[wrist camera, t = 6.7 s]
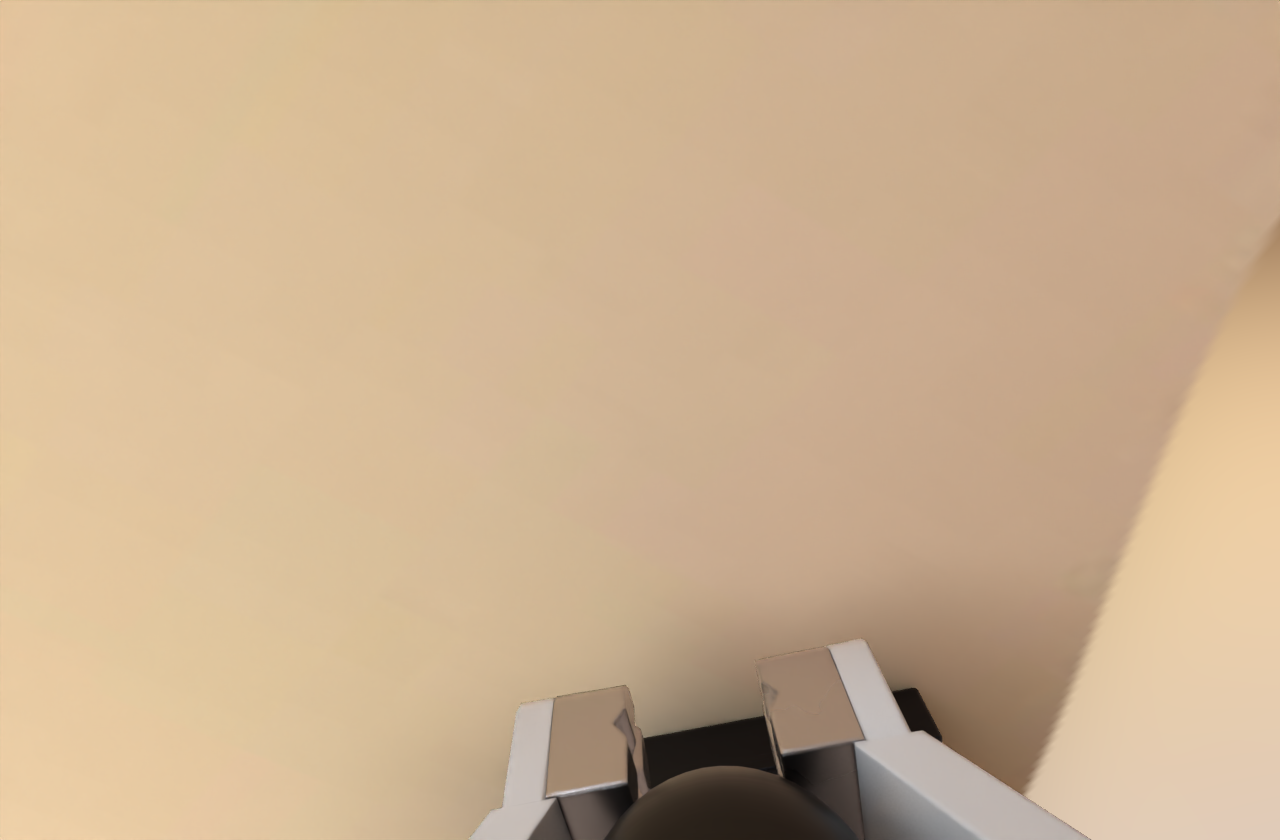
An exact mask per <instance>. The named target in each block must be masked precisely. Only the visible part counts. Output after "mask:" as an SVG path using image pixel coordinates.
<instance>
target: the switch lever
mask: <svg viewBox="0 0 1280 840" xmlns="http://www.w3.org/2000/svg"><path fill="white" fill-rule="evenodd" d="M604 840H859V838H858V837H857V836H856V835H855V833H854V832H853V831H852V829H851V828H850V827H849V826H848V825H847V824H846V823H845V822H844V821H843V820H842V819H841V818H840V817H839V815H838V814H837V813H836V812H835V811H833V810H832V809H831V808H830V807H829V806H828V805H826V804H825V803H824V802H823V801H821V800H820V799H819V798H818V797H816V796H815V795H814V794H813V793H811V792H809V791H808V790H806V789H804V788H803V787H801V786H799V785H798V784H796V783H794V782H792V781H790V780H787V779H785V778H783V777H781V776H778V775H775V774H772V773H768V772H765V771H762V770H758V769H754V768H747V767H741V766H714V767H706V768H700V769H696V770H692V771H689V772H685V773H683V774H680V775H678V776H675V777H673V778H670V779H668V780H666V781H665V782H663V783H661V784H659V785H658V786H656V787H654V788H652V789H651V790H649V791H648V792H647V793H645V794H644V795H643V796H642V797H640V798H639V799H638V800H636V801H635V802H634V803H633V804H632V805H631V806H630V807H629V808H628V809H627V810H626V811H625V812H624V813H623V814H622V816H621V817H620V818H619V820H618V821H617V822H616V824H615V825H614V826H613V828H612V829H611V830H610V832H609V833H608V834H607V836H606V837H605V839H604Z"/></svg>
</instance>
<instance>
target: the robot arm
mask: <svg viewBox="0 0 1280 840" xmlns="http://www.w3.org/2000/svg"><path fill="white" fill-rule="evenodd" d="M755 666H756V672H757V678H758V683H759V687H760V691H761V695H762V699H763V703H764V705H763V711H764V715H765V720H766V725H767V730H768V735H769V740H770V745H771V749H772V753H773V757H774V762H775V766H776V770H777V774H778V776H781V777H783V778H785V779H787V780H790V781H792V782H794V783H796V784H798V785H799V786H801V787H803V788H804V789H806V790H808V791H809V792H811V793H813V794H814V795H815V796H816V797H818V798H819V799H820V800H821V801H823V802H824V803H825V804H826V805H828V806H829V807H830V808H831V809H832V810H833V811H835V812H836V813H837V814H838V815H839V817H840V818H841V819H842V820H843V821H844V822H845V823H846V824H847V825H848V826H849V827H850V828H851V829H852V831H853V832H854V833H855V835H856V836H857V837H858V838H859V840H1091V839H1089V838H1088V837H1086V836H1085V835H1083V834H1082V833H1080V832H1079V831H1077V830H1075V829H1074V828H1072V827H1071V826H1069V825H1068V824H1066V823H1065V822H1063V821H1062V820H1060V819H1058V818H1057V817H1056V816H1054V815H1052V814H1051V813H1049V812H1048V811H1046V810H1045V809H1043V808H1042V807H1040V806H1039V805H1037V804H1036V803H1034V802H1032V801H1031V800H1029V799H1028V798H1026V797H1025V796H1023V795H1022V794H1020V793H1019V792H1017V791H1016V790H1014V789H1012V788H1011V787H1009V786H1008V785H1006V784H1005V783H1003V782H1002V781H1000V780H999V779H997V778H995V777H994V776H992V775H991V774H989V773H988V772H986V771H985V770H983V769H982V768H980V767H979V766H977V765H975V764H974V763H972V762H971V761H969V760H968V759H966V758H965V757H963V756H962V755H960V754H959V753H957V752H955V751H954V750H952V749H951V748H949V747H948V746H946V745H945V744H943V743H942V742H940V741H939V740H937V739H935V738H934V737H932V736H931V735H929V734H928V733H926V732H925V731H923V730H922V731H915V732H911V731H910V729H909V727H908V725H907V723H906V720H905V718H904V716H903V714H902V712H901V710H900V708H899V706H898V704H897V702H896V700H895V698H894V696H893V694H892V692H891V690H890V688H889V686H888V684H887V682H886V680H885V677H884V675H883V673H882V671H881V669H880V667H879V665H878V663H877V661H876V659H875V657H874V655H873V653H872V651H871V649H870V647H869V645H868V643H867V642H866V641H865V640H864V639H862V638H860V639H856V640H851V641H846V642H841V643H836V644H831V645H827V646H826V647H825V646H823V647H818V648H813V649H808V650H803V651H798V652H793V653H788V654H783V655H778V656H773V657H768V658H763V659H758V660H755ZM649 790H651V780H650V773H649V766H648V758H647V754H646V749H645V744H644V740H643V736H642V732H641V729H640V728H638V727H637V726H636V725H635V715H634V704H633V701H632V697H631V694H630V691H629V688H628V687H627V686H626V685H623V686H617V687H611V688H605V689H599V690H593V691H587V692H580V693H574V694H568V695H562V696H557V697H556V698H550V699H543V700H537V701H531V702H524V703H521V704H520V706H519V708H518V710H517V712H516V717H515V724H514V730H513V737H512V744H511V750H510V757H509V764H508V771H507V777H506V784H505V791H504V797H503V804H502V808H497V809H493V810H491V811H490V812H489V813H488V814H487V816H486V817H485V818H484V820H483V821H482V822H481V823H480V825H479V826H478V827H477V829H476V830H475V831H474V832H473V834H472V835H471V836H470V838H469V839H468V840H604V839H605V837H606V836H607V834H608V833H609V832H610V830H611V829H612V828H613V826H614V825H615V824H616V822H617V821H618V820H619V818H620V817H621V816H622V814H623V813H624V812H625V811H626V810H627V809H628V808H629V807H630V806H631V805H632V804H633V803H634V802H635V801H636V800H638V799H639V798H640V797H642V796H643V795H644V794H645V793H647V792H648V791H649Z"/></svg>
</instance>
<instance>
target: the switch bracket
mask: <svg viewBox="0 0 1280 840" xmlns="http://www.w3.org/2000/svg"><path fill="white" fill-rule="evenodd" d="M892 694H893V696H894V698H895V700H896V702H897V704H898V706H899V708H900V710H901V712H902V714H903V716H904V718H905V720H906V723H907V725H908V727H909V729H910V731H911V732H915V731H922V730H923V731H925V732H926V733H928V734H929V735H931V736H932V737H934V738H935V739H937V740H939V741H940V742H942V735H941V733H940V732H939V730H938V728H937V726H936V724H935V722H934V720H933V718H932V716H931V714H930V712H929V710H928V708H927V707H926V705H925V703H924V701H923V699H922V697H921V695H920V693H919V691H918V690H917V689H916V688H910V689H905V690H900V691H894V692H892ZM643 740H644V744H645V749H646V754H647V758H648V766H649V773H650V780H651V789H652V788H654V787H656V786H658V785H659V784H661V783H663V782H665V781H666V780H668V779H670V778H673V777H675V776H678V775H680V774H683V773H685V772H689V771H692V770H696V769H700V768H706V767H714V766H741V767H747V768H754V769H758V770H762V771H765V772H768V773H772V774H775V775H778V774H777V770H776V766H775V762H774V757H773V753H772V749H771V745H770V740H769V735H768V730H767V725H766V720H765V716H761V717H756V718H750V719H745V720H740V721H734V722H729V723H724V724H718V725H713V726H708V727H702V728H697V729H692V730H686V731H681V732H676V733H670V734H665V735H659V736H654V737H649V738H643Z"/></svg>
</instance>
